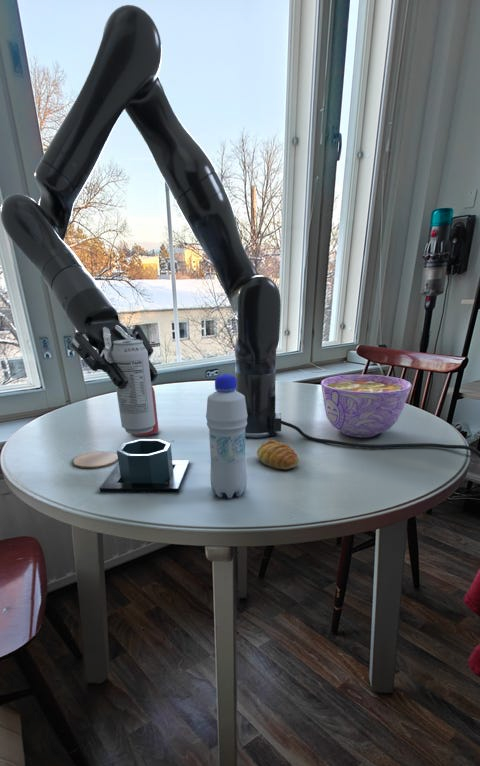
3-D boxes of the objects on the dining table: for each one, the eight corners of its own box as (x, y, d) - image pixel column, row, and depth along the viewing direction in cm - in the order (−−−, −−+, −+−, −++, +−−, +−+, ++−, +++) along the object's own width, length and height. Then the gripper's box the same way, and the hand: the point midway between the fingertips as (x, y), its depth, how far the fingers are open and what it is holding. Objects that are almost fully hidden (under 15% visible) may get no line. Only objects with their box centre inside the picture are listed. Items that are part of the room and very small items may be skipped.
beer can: (161, 429, 114) (156, 379, 108) (154, 437, 108) (149, 385, 103) (136, 428, 115) (129, 379, 109) (128, 436, 109) (120, 385, 103)
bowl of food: (308, 440, 104) (311, 388, 99) (327, 418, 120) (331, 372, 115) (399, 450, 98) (408, 395, 92) (407, 424, 114) (414, 376, 108)
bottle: (209, 486, 83) (203, 371, 73) (246, 484, 83) (245, 369, 73) (210, 502, 77) (204, 379, 67) (250, 500, 77) (249, 378, 68)
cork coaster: (123, 453, 99) (122, 451, 99) (111, 468, 91) (110, 466, 91) (82, 453, 99) (82, 451, 99) (66, 468, 92) (66, 466, 91)
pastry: (307, 467, 90) (308, 448, 88) (279, 474, 87) (279, 455, 85) (279, 453, 97) (279, 436, 95) (252, 460, 94) (252, 442, 92)
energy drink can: (160, 425, 85) (151, 339, 77) (148, 435, 80) (137, 343, 72) (131, 424, 86) (119, 338, 79) (116, 433, 81) (102, 343, 74)
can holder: (189, 464, 93) (187, 435, 90) (178, 492, 80) (175, 460, 77) (121, 463, 93) (117, 435, 90) (100, 492, 81) (94, 460, 78)
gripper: (53, 287, 71) (113, 374, 70) (125, 284, 81) (179, 361, 80) (41, 323, 76) (98, 404, 76) (111, 316, 86) (161, 388, 85)
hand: (139, 382), depth 78 cm, fingers closed on energy drink can, 6 cm apart
